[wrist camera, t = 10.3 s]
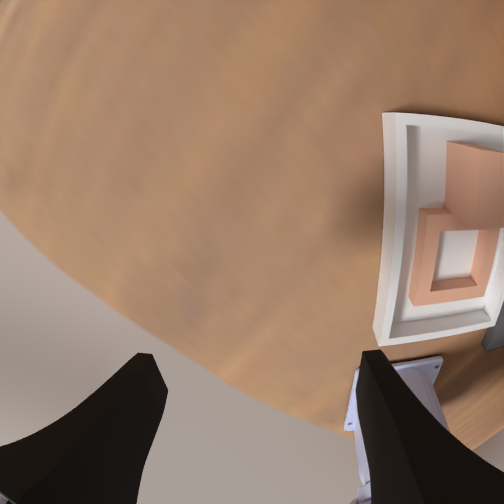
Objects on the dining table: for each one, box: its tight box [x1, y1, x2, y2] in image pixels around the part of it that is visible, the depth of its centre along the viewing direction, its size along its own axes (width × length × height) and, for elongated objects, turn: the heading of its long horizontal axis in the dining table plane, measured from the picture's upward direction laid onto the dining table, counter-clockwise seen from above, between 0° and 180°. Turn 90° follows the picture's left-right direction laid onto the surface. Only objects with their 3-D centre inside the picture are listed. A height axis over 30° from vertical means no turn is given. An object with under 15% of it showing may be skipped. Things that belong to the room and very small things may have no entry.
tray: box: [373, 112, 504, 346], centre depth 15 cm, size 14×10×2 cm
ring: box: [408, 141, 504, 306], centre depth 14 cm, size 10×6×4 cm, turn 6°
